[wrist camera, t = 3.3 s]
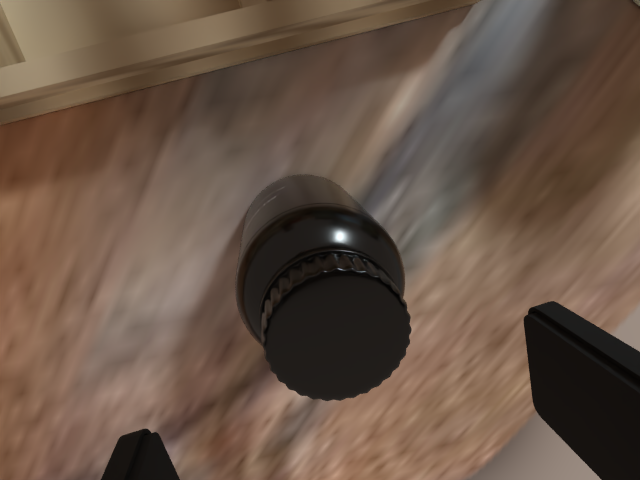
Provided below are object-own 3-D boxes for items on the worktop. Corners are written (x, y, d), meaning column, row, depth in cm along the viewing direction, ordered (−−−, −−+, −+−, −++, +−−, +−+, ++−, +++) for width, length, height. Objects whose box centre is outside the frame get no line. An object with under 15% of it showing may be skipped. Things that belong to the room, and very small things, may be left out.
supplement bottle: (239, 173, 23) (221, 232, 11) (361, 172, 24) (457, 225, 12) (245, 288, 25) (234, 437, 13) (356, 283, 26) (436, 418, 14)
